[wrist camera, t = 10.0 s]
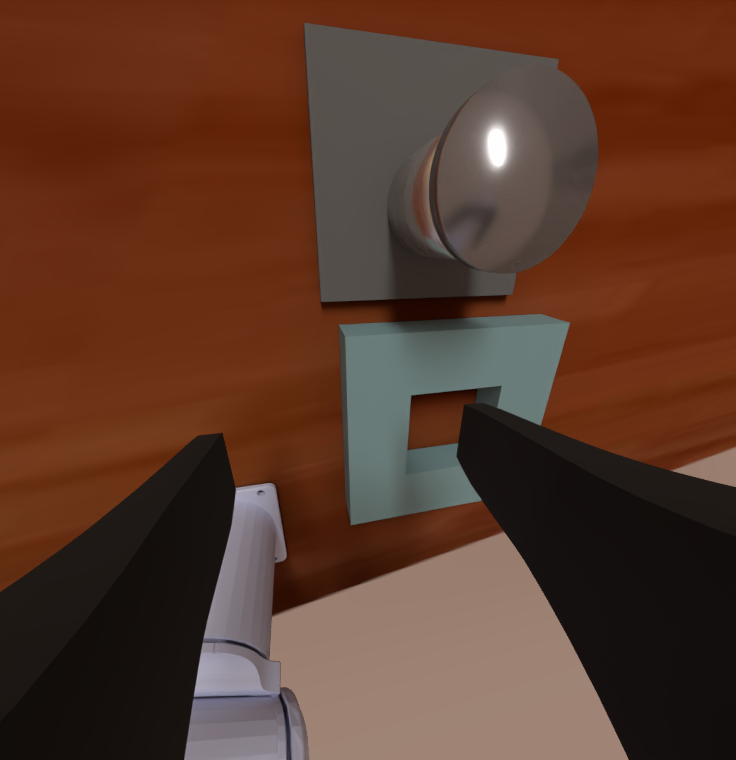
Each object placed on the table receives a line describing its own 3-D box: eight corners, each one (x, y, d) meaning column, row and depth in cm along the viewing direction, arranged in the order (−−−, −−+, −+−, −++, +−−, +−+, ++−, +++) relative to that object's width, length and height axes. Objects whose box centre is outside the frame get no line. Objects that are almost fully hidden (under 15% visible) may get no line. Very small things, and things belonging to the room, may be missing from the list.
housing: (345, 498, 24) (350, 525, 22) (338, 324, 18) (345, 336, 16) (502, 472, 27) (521, 493, 25) (540, 314, 21) (569, 322, 19)
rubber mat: (320, 300, 17) (321, 301, 17) (303, 32, 13) (304, 22, 12) (506, 293, 20) (512, 294, 19) (549, 65, 15) (558, 59, 15)
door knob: (381, 264, 17) (432, 276, 10) (381, 136, 14) (447, 54, 8) (474, 261, 18) (571, 271, 11) (488, 142, 15) (621, 73, 9)
